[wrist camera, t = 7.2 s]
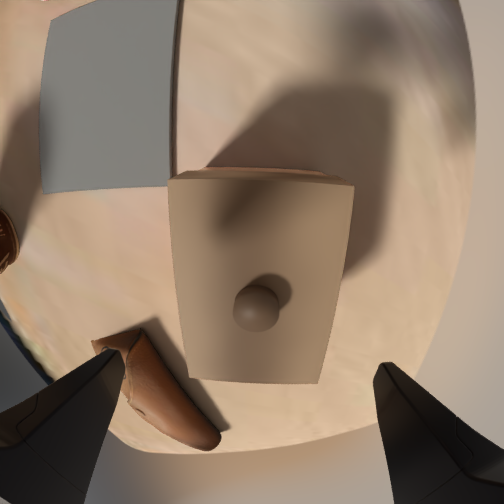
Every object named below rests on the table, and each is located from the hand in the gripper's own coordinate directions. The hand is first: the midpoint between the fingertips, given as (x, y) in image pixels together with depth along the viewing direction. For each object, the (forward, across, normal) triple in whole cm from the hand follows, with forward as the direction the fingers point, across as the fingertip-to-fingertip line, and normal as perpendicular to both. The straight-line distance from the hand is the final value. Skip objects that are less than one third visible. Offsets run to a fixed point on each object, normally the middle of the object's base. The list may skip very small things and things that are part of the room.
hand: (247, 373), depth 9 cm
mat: (+12, +12, -12) cm, 21 cm away
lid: (+7, 0, 0) cm, 7 cm away
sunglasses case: (+13, +10, +18) cm, 24 cm away
